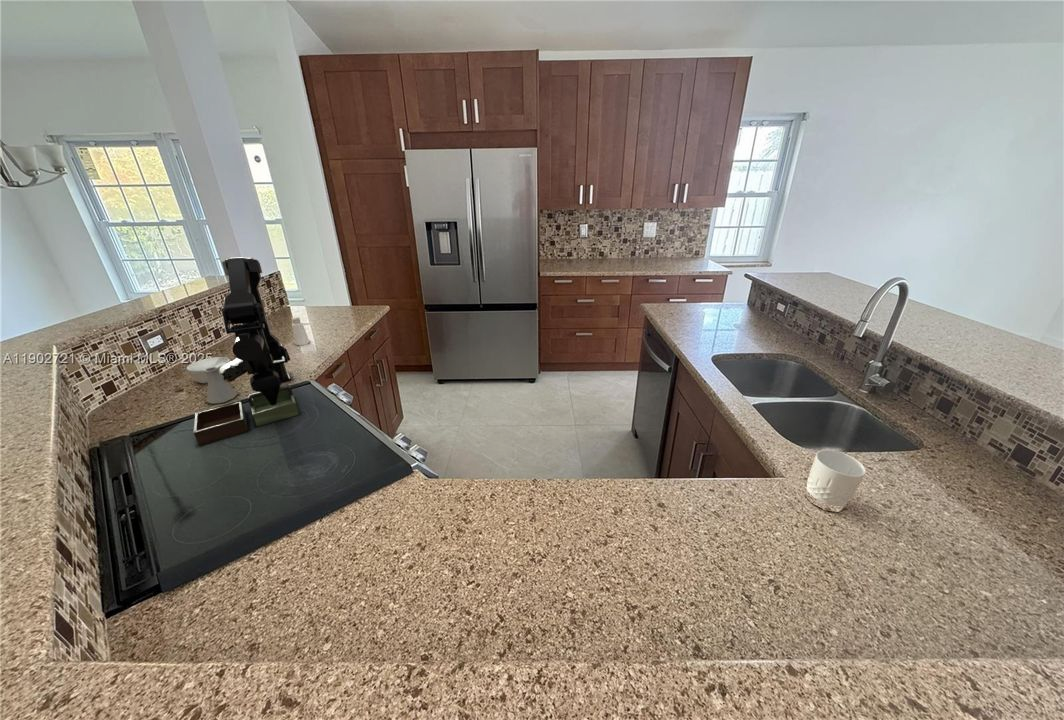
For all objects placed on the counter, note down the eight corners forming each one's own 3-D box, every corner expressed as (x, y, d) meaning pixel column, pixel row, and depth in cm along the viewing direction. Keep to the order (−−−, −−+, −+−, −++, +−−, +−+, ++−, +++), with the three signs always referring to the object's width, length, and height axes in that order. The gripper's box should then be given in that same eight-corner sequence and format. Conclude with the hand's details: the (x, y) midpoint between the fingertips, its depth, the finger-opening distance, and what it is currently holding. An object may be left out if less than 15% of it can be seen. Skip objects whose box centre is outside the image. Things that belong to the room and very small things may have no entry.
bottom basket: (200, 425, 100) (194, 413, 98) (245, 413, 105) (241, 401, 104) (199, 446, 92) (193, 432, 90) (248, 431, 97) (243, 418, 96)
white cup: (841, 493, 78) (859, 456, 74) (852, 521, 72) (872, 481, 68) (797, 482, 81) (812, 445, 77) (804, 507, 75) (820, 468, 71)
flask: (243, 393, 116) (232, 364, 112) (223, 405, 109) (211, 375, 105) (222, 391, 116) (210, 363, 112) (201, 403, 110) (188, 373, 106)
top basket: (253, 409, 107) (245, 387, 104) (293, 398, 113) (287, 377, 110) (256, 427, 99) (248, 404, 96) (299, 414, 105) (293, 392, 102)
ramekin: (240, 375, 127) (235, 361, 125) (200, 388, 118) (194, 373, 116) (226, 367, 132) (221, 354, 130) (187, 379, 124) (180, 365, 121)
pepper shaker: (312, 340, 156) (306, 315, 151) (304, 345, 151) (297, 320, 146) (300, 340, 156) (293, 315, 152) (291, 345, 151) (284, 319, 147)
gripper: (215, 343, 100) (234, 393, 106) (216, 367, 86) (238, 423, 93) (264, 334, 106) (280, 382, 112) (272, 355, 93) (289, 408, 99)
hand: (271, 398), depth 104 cm, fingers open, 9 cm apart
